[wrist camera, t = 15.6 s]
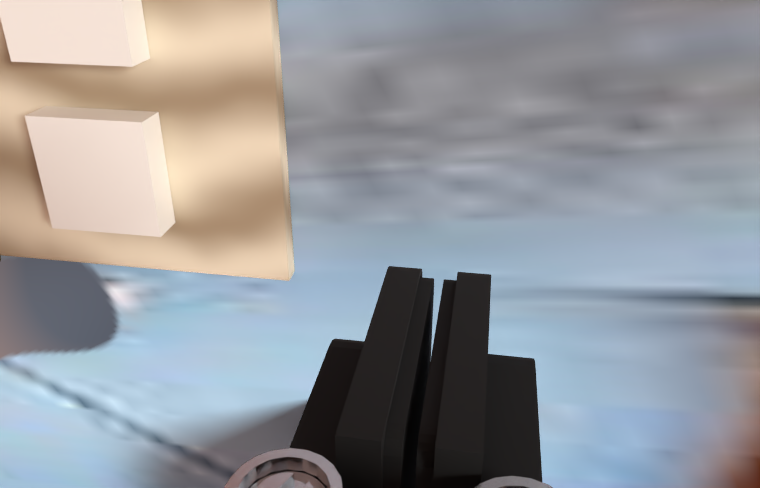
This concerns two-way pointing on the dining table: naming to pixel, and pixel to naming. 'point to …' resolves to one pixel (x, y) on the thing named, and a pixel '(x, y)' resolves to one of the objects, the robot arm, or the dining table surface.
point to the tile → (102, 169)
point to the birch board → (170, 143)
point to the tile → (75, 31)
